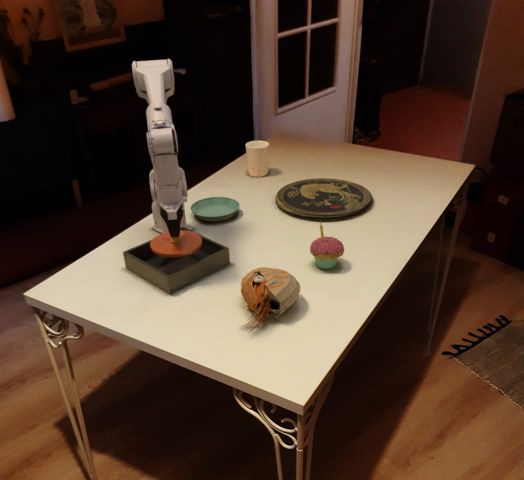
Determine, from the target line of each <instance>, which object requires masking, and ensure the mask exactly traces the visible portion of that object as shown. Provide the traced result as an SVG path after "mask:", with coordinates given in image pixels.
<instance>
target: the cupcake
mask: <svg viewBox="0 0 524 480" xmlns="http://www.w3.org/2000/svg"><path fill="white" fill-rule="evenodd" d="M323 227H324V226H323V224H322V222H321V221H320V222H319V231H320V237H318V238H316V239H315V240H313V241H312V242H311V243H310V248H309V253H310V254H311V256H313V257H314V260H315V263H316V266H317V267H318V268H320V269H324V270H330V269H333V268H334V267H336V264H337V262H338V259H340V257H342V256H344V254H345V247H344V244H343V242H342V241H341V240H340V239H338V238H336V237H334V236H324V228H323Z"/></svg>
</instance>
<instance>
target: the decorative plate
mask: <svg viewBox="0 0 524 480" xmlns="http://www.w3.org/2000/svg"><path fill="white" fill-rule="evenodd" d="M373 199H374V198H373V195H372V193H371V192H370V191H369V190H368V188H366V187H364V186H362V185H360V184H358V183H356V182H352V181H350V180H345V179H338V178H325V177H324V178H317V177H316V178H307V179H301V180H297V181H294V182H291V183H288V184H286V185H284V186H283V187H281V188H280V189H279V190H278V191H277V193H276V196H275V204H276V206H277V207H278V208H279V209H280V210H281V211H282V212H284V213H286V214H289V215H290V216H293V217H296V218H300V219H303V220H304V219H305V220H311V221H339V220H345V219H350V218H351V219H352V218H354V217H357V216H360V215H362V214H363V213H366V212H367V211H368V210H369V209H371V206H372V205H373Z"/></svg>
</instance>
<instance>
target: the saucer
mask: <svg viewBox="0 0 524 480" xmlns="http://www.w3.org/2000/svg"><path fill="white" fill-rule="evenodd" d="M240 207H241V205H240V202H239V201H237V200H236V199H234V198H231V197H226V196H211V197H205V198H201V199H199V200H196V201H195V202H193V203H192V204H191V205H190V208H189V209H190V212H191V213H192V214H193V215H194V216H195V217H196V218H198V219H200V220H201V221H204V222H214V223H215V222H222V221H227V220H228V219H231V218H232V217H233V216H235V214H236V213H237V212H238V210H239V209H240Z"/></svg>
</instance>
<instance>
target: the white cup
mask: <svg viewBox="0 0 524 480" xmlns="http://www.w3.org/2000/svg"><path fill="white" fill-rule="evenodd" d="M245 153H246V164H247V171H248V172H247V173H248V175H249V176H251V177H255V178H259V177H260V178H261V177H265V176H267V175H268V173H269V161H270V160H269V158H270V143H269V142H268V141H265V140H252V141H248V142H246V143H245Z"/></svg>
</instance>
